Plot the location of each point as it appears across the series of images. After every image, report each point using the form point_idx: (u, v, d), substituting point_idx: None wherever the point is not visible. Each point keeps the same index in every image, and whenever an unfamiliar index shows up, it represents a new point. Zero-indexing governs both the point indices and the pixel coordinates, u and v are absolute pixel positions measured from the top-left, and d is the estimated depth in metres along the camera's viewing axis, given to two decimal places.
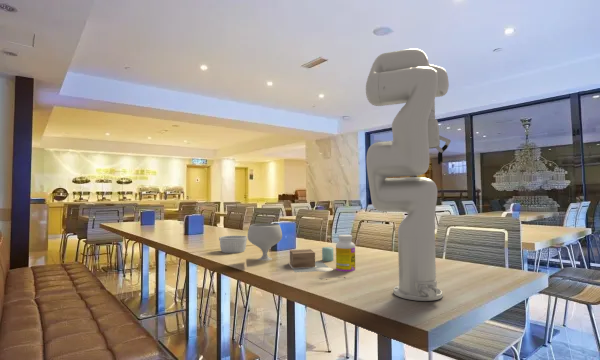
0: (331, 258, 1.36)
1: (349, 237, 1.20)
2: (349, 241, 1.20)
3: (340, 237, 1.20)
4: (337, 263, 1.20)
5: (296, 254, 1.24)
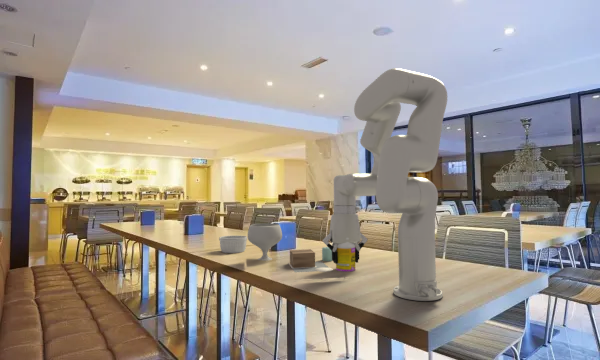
0: (331, 258, 1.36)
1: None
2: None
3: None
4: (337, 263, 1.20)
5: (296, 254, 1.24)
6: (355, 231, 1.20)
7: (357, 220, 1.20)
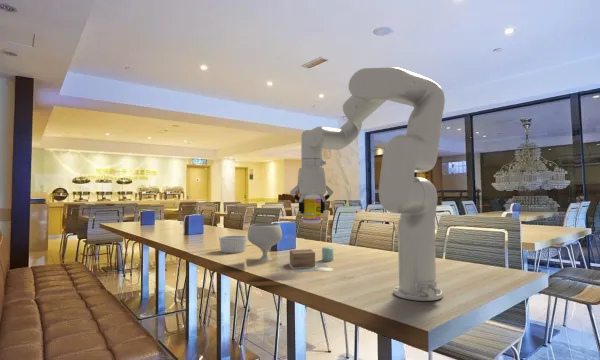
0: (331, 258, 1.36)
1: None
2: None
3: None
4: (303, 213, 1.26)
5: (296, 254, 1.24)
6: (321, 183, 1.26)
7: (323, 173, 1.27)
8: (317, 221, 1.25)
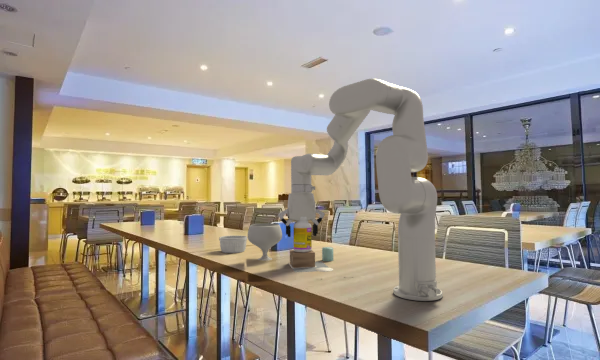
0: (331, 258, 1.36)
1: (305, 217, 1.27)
2: (305, 221, 1.27)
3: None
4: (294, 242, 1.27)
5: (296, 254, 1.24)
6: (310, 208, 1.28)
7: (312, 198, 1.28)
8: (308, 250, 1.26)
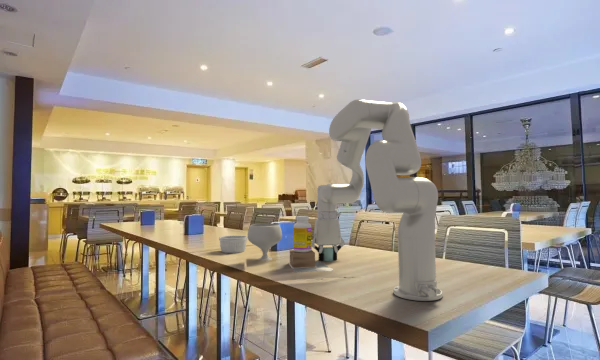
0: (331, 258, 1.36)
1: (305, 218, 1.27)
2: (305, 221, 1.27)
3: (297, 218, 1.28)
4: (294, 242, 1.27)
5: (296, 254, 1.24)
6: (336, 234, 1.36)
7: (338, 224, 1.37)
8: (308, 250, 1.26)
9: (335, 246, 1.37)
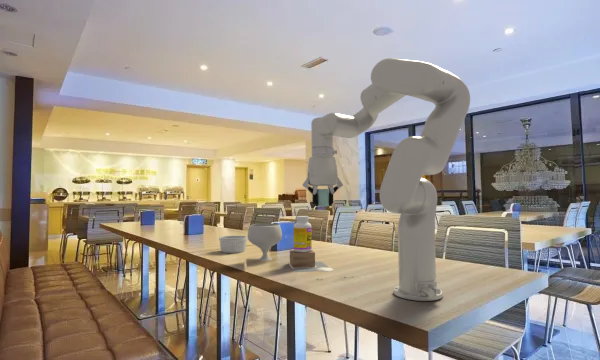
0: (326, 200, 1.20)
1: (305, 217, 1.27)
2: (305, 221, 1.27)
3: (297, 218, 1.28)
4: (294, 242, 1.27)
5: (296, 254, 1.24)
6: (332, 173, 1.20)
7: (334, 162, 1.21)
8: (308, 250, 1.26)
9: (331, 187, 1.21)
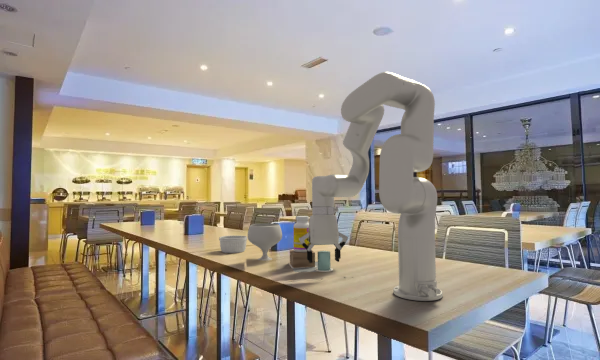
0: (328, 264, 1.19)
1: (305, 218, 1.27)
2: (305, 221, 1.27)
3: (297, 218, 1.28)
4: (294, 242, 1.27)
5: (296, 254, 1.24)
6: (333, 232, 1.19)
7: (335, 221, 1.20)
8: None
9: (336, 244, 1.20)
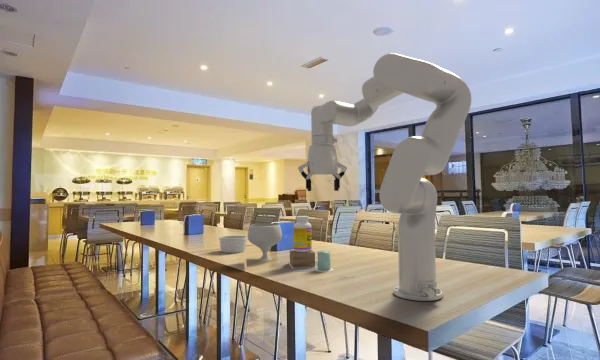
0: (328, 264, 1.19)
1: (305, 217, 1.27)
2: (305, 221, 1.27)
3: (297, 218, 1.28)
4: (294, 242, 1.27)
5: (296, 254, 1.24)
6: (332, 161, 1.20)
7: (334, 150, 1.21)
8: (308, 250, 1.26)
9: (335, 173, 1.21)
